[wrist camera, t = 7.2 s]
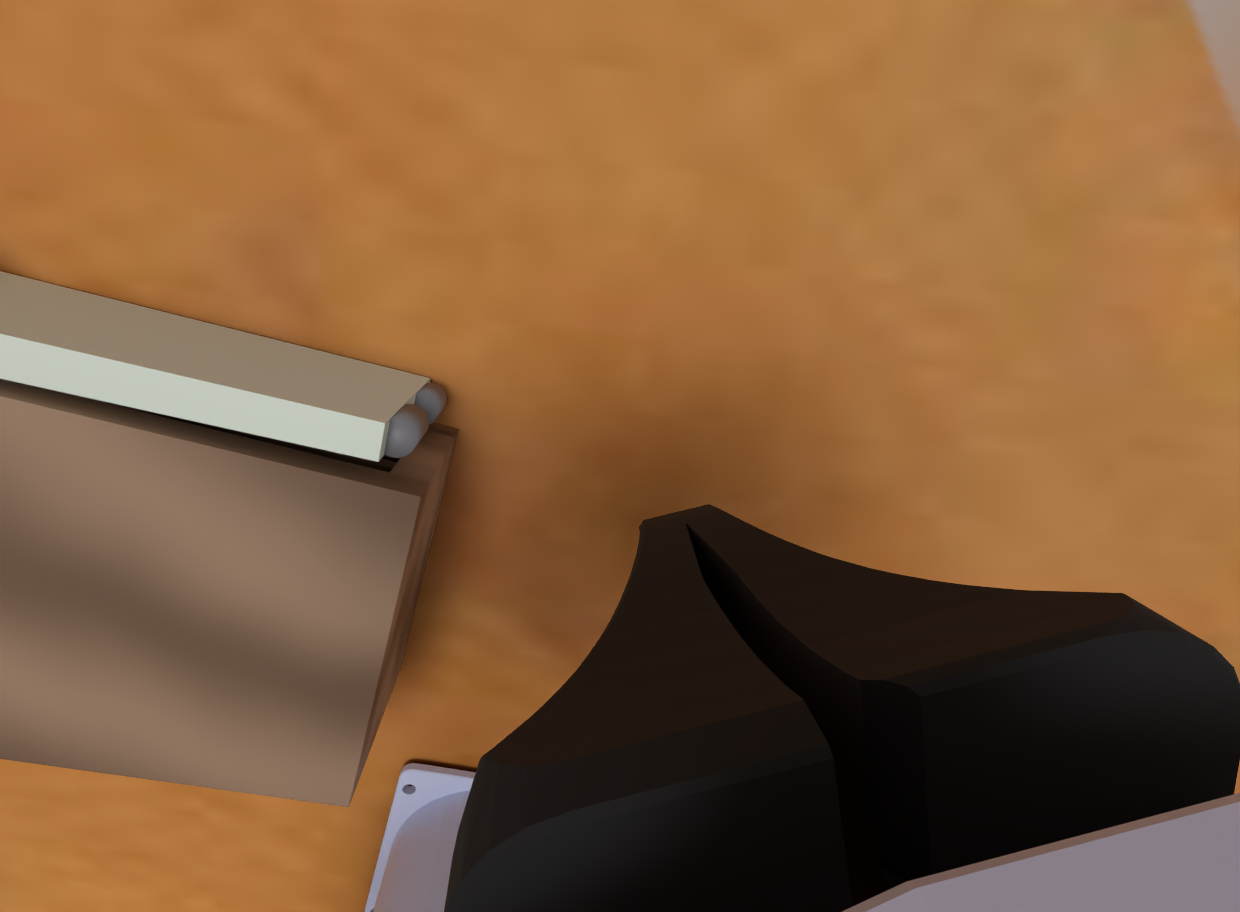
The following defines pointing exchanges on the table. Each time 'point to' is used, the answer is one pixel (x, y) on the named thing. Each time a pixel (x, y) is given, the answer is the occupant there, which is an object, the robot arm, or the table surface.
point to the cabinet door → (209, 372)
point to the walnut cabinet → (202, 595)
